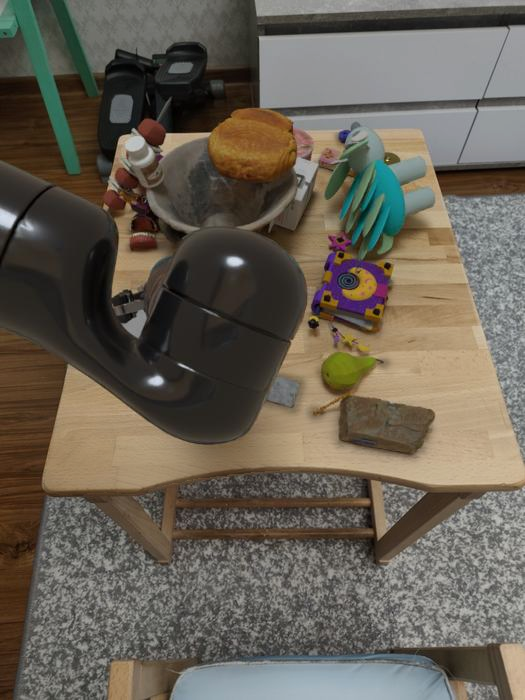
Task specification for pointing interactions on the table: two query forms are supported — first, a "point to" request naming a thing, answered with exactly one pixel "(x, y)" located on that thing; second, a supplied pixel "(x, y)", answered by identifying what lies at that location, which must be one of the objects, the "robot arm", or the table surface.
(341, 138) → the blue irregular piece
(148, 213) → the toy car
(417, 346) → the table surface
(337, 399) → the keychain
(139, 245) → the dentures model
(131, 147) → the pill bottle
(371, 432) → the stone
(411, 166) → the teal bird figurine
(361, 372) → the fruit
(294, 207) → the ink box
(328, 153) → the toy
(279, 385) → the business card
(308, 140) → the container
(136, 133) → the skewer
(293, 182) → the bowl
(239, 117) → the bread loaf
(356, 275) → the book
